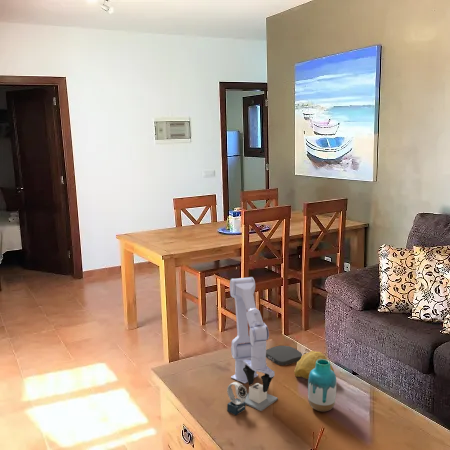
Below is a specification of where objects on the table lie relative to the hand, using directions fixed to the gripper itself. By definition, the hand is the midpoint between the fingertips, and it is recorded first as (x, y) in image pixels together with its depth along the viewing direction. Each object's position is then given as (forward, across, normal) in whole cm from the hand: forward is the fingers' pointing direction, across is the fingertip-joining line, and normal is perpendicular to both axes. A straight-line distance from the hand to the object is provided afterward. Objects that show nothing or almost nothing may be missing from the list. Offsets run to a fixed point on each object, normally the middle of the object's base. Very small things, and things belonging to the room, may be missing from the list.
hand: (258, 387), depth 195 cm
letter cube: (+5, 0, 0) cm, 5 cm away
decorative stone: (+6, -5, -30) cm, 31 cm away
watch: (+6, +1, +11) cm, 13 cm away
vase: (+6, -21, -13) cm, 25 cm away
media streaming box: (+6, +17, -38) cm, 42 cm away
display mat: (+5, 0, 0) cm, 5 cm away
